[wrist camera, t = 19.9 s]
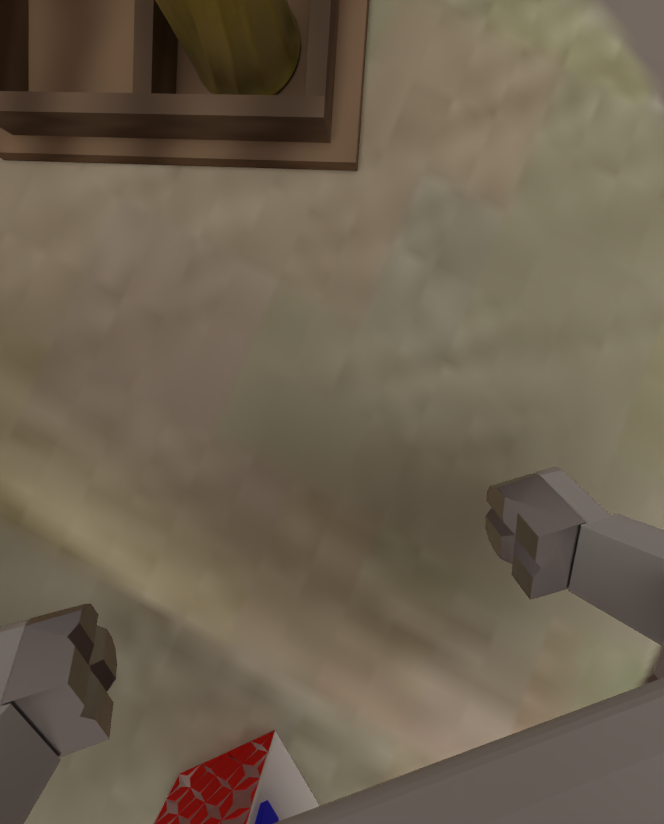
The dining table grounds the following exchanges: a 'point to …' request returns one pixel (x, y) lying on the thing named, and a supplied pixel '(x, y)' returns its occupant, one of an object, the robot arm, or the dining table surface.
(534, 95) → the dining table surface
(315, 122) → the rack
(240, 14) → the vase
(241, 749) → the puzzle cube
